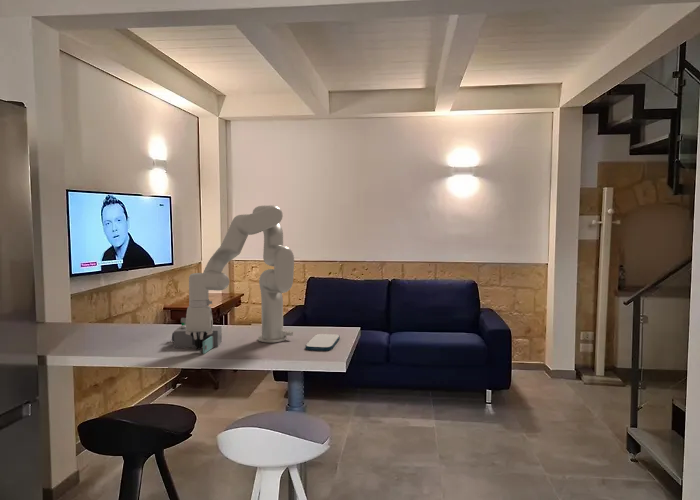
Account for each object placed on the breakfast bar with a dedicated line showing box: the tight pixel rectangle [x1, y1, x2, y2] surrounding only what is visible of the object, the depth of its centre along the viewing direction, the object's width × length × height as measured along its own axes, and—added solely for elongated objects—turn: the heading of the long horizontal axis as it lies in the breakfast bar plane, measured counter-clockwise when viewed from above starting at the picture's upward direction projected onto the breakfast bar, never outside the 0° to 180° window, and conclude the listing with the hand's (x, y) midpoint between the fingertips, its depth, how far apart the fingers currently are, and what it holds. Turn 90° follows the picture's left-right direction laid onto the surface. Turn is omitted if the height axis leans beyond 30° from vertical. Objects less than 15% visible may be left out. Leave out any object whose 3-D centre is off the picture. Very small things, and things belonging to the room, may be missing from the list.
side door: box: [202, 336, 215, 354], centre depth 206 cm, size 10×2×5 cm, turn 175°
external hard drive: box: [305, 333, 341, 352], centre depth 218 cm, size 24×12×2 cm, turn 171°
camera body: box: [171, 324, 223, 349], centre depth 215 cm, size 20×10×8 cm, turn 94°
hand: (199, 348), depth 203 cm, fingers closed
